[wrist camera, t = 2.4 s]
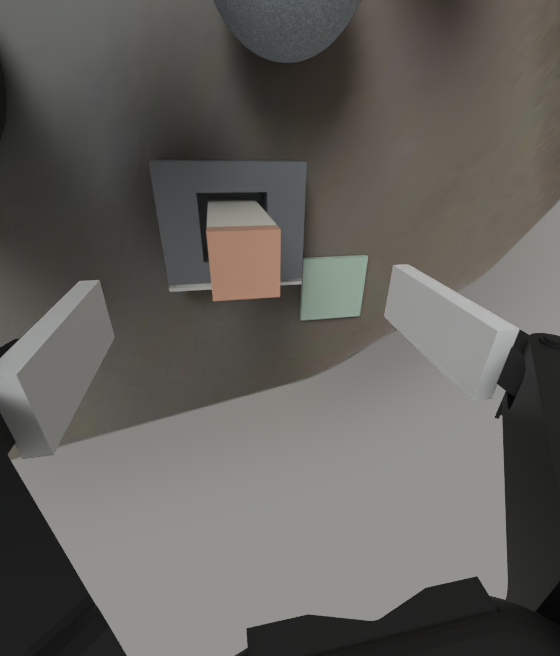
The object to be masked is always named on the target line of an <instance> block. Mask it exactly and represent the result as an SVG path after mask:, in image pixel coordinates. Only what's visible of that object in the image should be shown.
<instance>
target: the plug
mask: <svg viewBox="0 0 560 656" xmlns="http://www.w3.org/2000/svg"><path fill="white" fill-rule="evenodd" d="M206 234H207V245H208V255H209V265H210V275H211V286H212V296H213V301H225V300H240V299H256V298H271V297H280V259H281V229H280V228H279V227H278V226H277V225H276V223H275V222H274V221H273V220H272V219H271V218H270V216H269V215H268V214H267V213H266V212H265V211H264V209H263V208H262V207H261V206H260V205H259V204H258V202H257V201H256V200H255V199H254V198H214V199H208V208H207V227H206Z"/></svg>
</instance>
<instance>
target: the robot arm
mask: <svg viewBox="0 0 560 656" xmlns="http://www.w3.org/2000/svg"><path fill="white" fill-rule="evenodd" d="M5 115H6V95H5V87H4V80H3V76H2V72H1V68H0V137H1V134H2V131H3V127H4V122H5ZM384 317H385V318H386V319H387V320H388V321H389V322H390V323H391V324H392V325H393V326H394V327H395V328H396V329H397V330H398V331H399V332H401V333H402V334H403V335H404V336H405V337H406V338H407V339H408V340H409V341H410V342H411V343H412V344H413V345H414V346H415V347H416V348H417V349H418V350H419V351H420V352H421V353H422V354H423V355H424V356H425V357H426V358H427V359H428V360H430V361H431V362H432V363H433V364H434V365H435V366H436V367H437V368H438V369H439V370H440V371H441V372H442V373H443V374H444V375H445V376H446V377H447V378H448V379H449V380H450V381H451V382H452V383H453V384H454V385H455V386H457V387H458V388H459V389H460V390H461V391H462V392H463V393H464V394H465V395H466V396H467V397H468V398H469V399H470V400H471V401H479V400H486V399H492V396H493V393H494V391H495V389H496V386H497V384H498V385H500V386H501V387H502V388H503V389H504V390H506V392H505V395H504V397H503V399H502V402H501V404H500V406H499V409H498V411H497V413H496V416H495V418H499V417H500V415H502V416H503V446H504V475H505V503H506V504H505V506H506V533H507V534H506V535H507V563H508V591H507V597H506V600H503V599H500V598H496V597H492V596H489V595H488V593H487V592H486V590H485V588H484V587H483V585H482V584H481V582H480V580H479V579H478V577H473V578H468V579H464V580H459V581H455V582H451V583H446V584H441V585H437V586H433V587H428V588H425V589H424V590H422V591H421V592H419V593H418V594H416V595H415V596H413V597H412V598H411V599H409V600H407V601H406V602H404V603H403V604H401V605H400V606H398V607H397V608H396V609H394V610H393V611H391V612H390V613H388V614H387V615H385V616H384V617H382V618H381V619H379V620H376V621H364V620H355V619H345V618H336V617H326V616H317V615H304V616H300V617H296V618H291V619H286V620H282V621H278V622H273V623H269V624H265V625H260V626H255V627H251V628H247V643H248V648H247V649H245V650H243V651H242V652H240V653H238V654H237V655H235V656H560V336H557V335H552V334H546V333H534V334H531V335H528V334H527V333H525V332H523V331H521V330H520V329H519V328H517V327H515V326H513V325H512V324H510V323H508V322H506V321H505V320H503V319H501V318H499V317H498V316H496V315H495V314H493V313H491V312H489V311H488V310H486V309H484V308H482V307H481V306H479V305H477V304H476V303H474V302H472V301H470V300H469V299H467V298H465V297H463V296H462V295H460V294H458V293H457V292H455V291H453V290H451V289H450V288H448V287H446V286H444V285H443V284H441V283H439V282H438V281H436V280H434V279H432V278H431V277H429V276H427V275H425V274H424V273H422V272H420V271H419V270H417V269H415V268H413V267H412V266H410V265H408V264H405V265H393V269H392V275H391V281H390V286H389V292H388V298H387V303H386V309H385V314H384ZM114 338H115V336H114V333H113V329H112V325H111V321H110V318H109V314H108V310H107V306H106V303H105V299H104V295H103V291H102V288H101V284H100V280H88V281H79V282H78V283H77V284H76V285H75V286H74V287H73V288H72V289H71V290H70V291H69V292H68V293H67V294H66V295H64V296H63V297H62V298H61V299H60V300H59V301H58V302H57V303H56V304H55V305H54V306H53V307H52V308H51V309H50V310H49V311H48V312H47V313H46V314H45V315H44V316H43V317H42V318H41V319H40V320H39V321H38V322H37V323H36V324H35V325H34V326H33V327H32V328H31V329H30V330H29V331H28V332H27V333H26V334H25V335H23V336H22V337H21V338H20V339H15V340H13V341H11V342H9V343H7V344H5V345H4V346H2V347H0V656H126V654H125V652H124V651H123V649H122V647H121V645H120V644H119V642H118V641H117V639H116V637H115V635H114V634H113V632H112V630H111V628H110V627H109V625H108V623H107V622H106V620H105V619H104V617H103V615H102V614H101V612H100V610H99V609H98V607H97V606H96V605H95V603H94V601H93V600H92V598H91V596H90V595H89V593H88V591H87V590H86V588H85V586H84V584H83V583H82V581H81V580H80V578H79V576H78V574H77V573H76V571H75V569H74V567H73V566H72V564H71V562H70V561H69V559H68V557H67V556H66V554H65V552H64V551H63V549H62V547H61V545H60V544H59V542H58V540H57V539H56V537H55V535H54V533H53V532H52V530H51V528H50V527H49V525H48V523H47V522H46V520H45V518H44V516H43V515H42V513H41V511H40V510H39V508H38V506H37V505H36V503H35V501H34V500H33V498H32V496H31V495H30V493H29V491H28V489H27V488H26V486H25V484H24V483H23V481H22V480H21V477H20V476H19V474H18V472H17V471H16V469H15V467H14V466H13V464H12V462H11V460H10V459H9V457H8V455H7V454H8V453H9V451H10V450H11V448H12V447H13V445H14V444H15V445H16V447H17V449H18V451H19V453H20V455H21V456H22V458H23V459H26V458H34V457H41V456H49V455H54V453H55V451H56V449H57V447H58V445H59V443H60V441H61V439H62V437H63V435H64V434H65V432H66V430H67V428H68V426H69V424H70V422H71V420H72V418H73V416H74V415H75V413H76V411H77V409H78V407H79V405H80V403H81V401H82V399H83V397H84V395H85V394H86V392H87V390H88V388H89V386H90V384H91V382H92V380H93V378H94V376H95V374H96V373H97V371H98V369H99V367H100V365H101V363H102V361H103V359H104V357H105V355H106V353H107V352H108V350H109V348H110V346H111V344H112V342H113V340H114Z"/></svg>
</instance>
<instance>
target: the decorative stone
mask: <svg viewBox="0 0 560 656" xmlns="http://www.w3.org/2000/svg"><path fill="white" fill-rule="evenodd" d="M360 1H361V0H214V2H215V4H216V7H217V9H218V11H219V13H220V15H221V17H222V18H223V20H224V22H225V23H226V25H227V26H228V28H229V29H230V31H231V32H232V33H233V34H234V36H235V37H236V38H237V39H238V40H239V41H240V42H241V43H242V44H243V45H244V46H245V47H246V48H248V49H249V50H250V51H252V52H253V53H255V54H256V55H258V56H260V57H262V58H265V59H267V60H271V61H274V62H280V63H294V62H300V61H303V60H306V59H309V58H311V57H313V56H315V55H317V54H319V53H320V52H322V51H323V50H325V49H326V48H327V47H328V46H330V45H331V44H332V43H333V42H334V41H335V40H336V39H337V38H338V36H339V35H340V34H341V33H342V32H343V30H344V29H345V28H346V26H347V25H348V23H349V22H350V20H351V18H352V17H353V15H354V13H355V11H356V9H357V7H358V5H359V3H360Z"/></svg>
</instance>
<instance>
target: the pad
mask: <svg viewBox="0 0 560 656" xmlns="http://www.w3.org/2000/svg"><path fill="white" fill-rule="evenodd" d="M367 262H368V256H367V255H355V256H333V257H311V258H303V265H302V284H301V301H300V320H301V321H302V320H315V319H328V318H341V317H353V316H360V311H361V304H362V297H363V290H364V283H365V276H366V269H367Z"/></svg>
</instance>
